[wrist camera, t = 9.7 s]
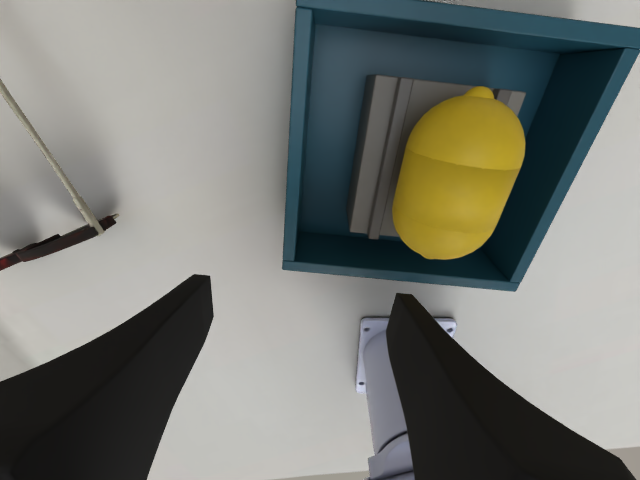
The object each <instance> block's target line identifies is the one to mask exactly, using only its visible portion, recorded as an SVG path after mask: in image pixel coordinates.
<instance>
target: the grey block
mask: <svg viewBox="0 0 640 480" xmlns="http://www.w3.org/2000/svg"><path fill="white" fill-rule="evenodd" d="M474 87H477V86H471V85H463V84H454V83H446V82H437V81H429V80H420V79H413V78H406V77H395V76H386V75H378V74H377V75H367V77H366V83H365V89H364V96H363V102H362V109H361V115H360V122H359V128H358V135H357V141H356V148H355V154H354V161H353V167H352V173H351V180H350V186H349V193H348V199H347V206H346V211H347V217H348V224H349V230H350V232H355V233H365V234H367V235H368V238H369V239H377V240H378V239H379V235H386V236H396V237H400V236H399V234H398V233H397V231H396V229H395V226H394V223H393V215H392V207H393V200H394V195H395V191H396V187H397V183H398V178H399V174H400V170H401V165H402V161H403V157H404V152H405V148H406V144H407V141H408V138H409V136H410V134H411V132H412V130H413V128H414V126H415V125H416V124H417V122H418V121H419V120H420V119H421V118H422V116H423V115H424V114H425V113H427V112H428V111H429V110H430V109H431V108H433V107H434V106H436V105H438V104H439V103H441V102H443V101H445V100H448V99H450V98H453V97H457V96H462V95H464V94H465V93H466V92H467V91H468V90H470V89H472V88H474ZM487 88H488V87H487ZM489 89H490V90H491V91H492V93H493V95H494V99H496V100H498V101H500V102H502V103H504V104H505V105H506V106H507V107H509V108H510V109H511V110H512V111H513V112H514V114H515V115H516V116H518V113H519V111H520V108H521V106H522V103H523V100H524V98H525V95H526V92H522V91H514V90H508V89H499V88H489Z"/></svg>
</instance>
